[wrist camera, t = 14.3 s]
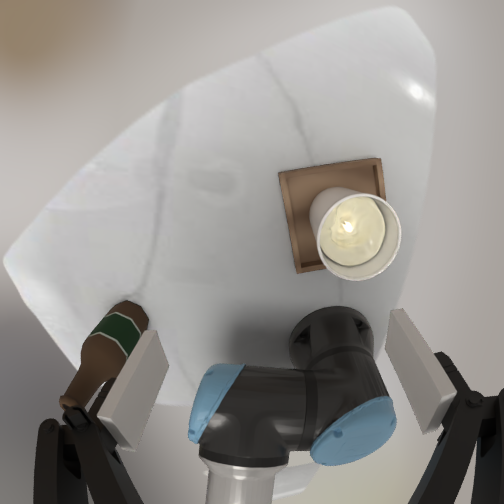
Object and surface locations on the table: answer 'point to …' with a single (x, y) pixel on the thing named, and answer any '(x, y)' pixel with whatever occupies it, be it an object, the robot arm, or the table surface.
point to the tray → (309, 186)
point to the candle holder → (354, 232)
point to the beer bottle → (106, 352)
